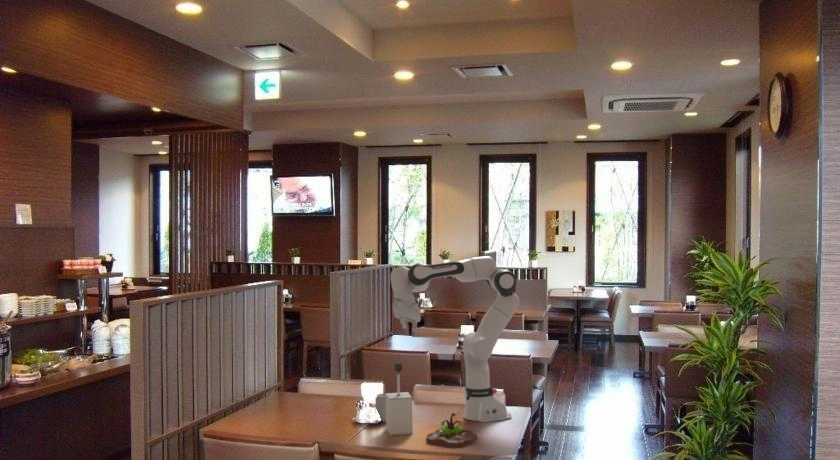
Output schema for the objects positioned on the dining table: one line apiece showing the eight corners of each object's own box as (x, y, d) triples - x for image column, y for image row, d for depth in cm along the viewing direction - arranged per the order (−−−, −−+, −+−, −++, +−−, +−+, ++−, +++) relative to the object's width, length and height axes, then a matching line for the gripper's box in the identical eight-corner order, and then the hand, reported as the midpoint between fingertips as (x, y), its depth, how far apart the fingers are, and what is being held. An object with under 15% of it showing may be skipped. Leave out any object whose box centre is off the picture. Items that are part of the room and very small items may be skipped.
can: (389, 422, 314) (389, 396, 315) (374, 422, 316) (373, 396, 316) (393, 418, 322) (393, 393, 322) (378, 417, 323) (377, 392, 323)
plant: (484, 437, 290) (483, 411, 291) (461, 450, 274) (461, 422, 274) (443, 431, 301) (443, 405, 301) (419, 443, 285) (419, 416, 285)
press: (408, 427, 306) (407, 392, 306) (412, 434, 296) (412, 397, 296) (386, 429, 304) (385, 393, 304) (389, 435, 294) (389, 398, 294)
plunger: (406, 408, 305) (405, 361, 305) (409, 413, 297) (408, 364, 297) (388, 409, 303) (387, 362, 303) (391, 414, 295) (390, 365, 296)
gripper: (399, 294, 307) (405, 324, 302) (420, 302, 325) (426, 330, 320) (387, 299, 310) (392, 328, 305) (408, 306, 327) (414, 333, 322)
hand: (410, 329), depth 312 cm, fingers open, 8 cm apart
